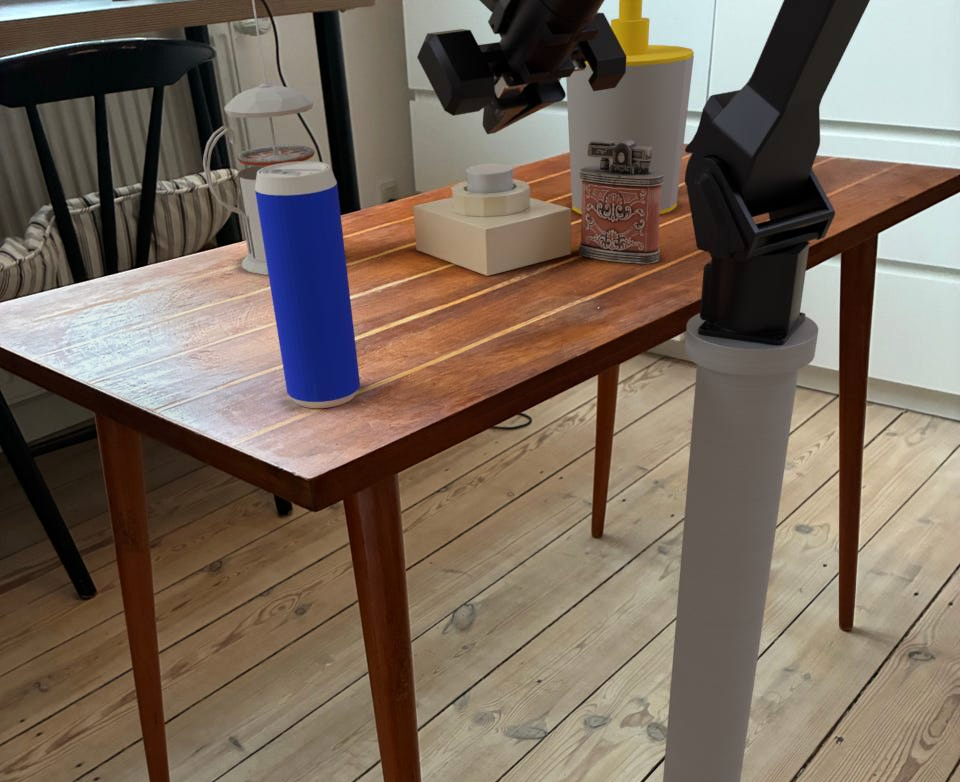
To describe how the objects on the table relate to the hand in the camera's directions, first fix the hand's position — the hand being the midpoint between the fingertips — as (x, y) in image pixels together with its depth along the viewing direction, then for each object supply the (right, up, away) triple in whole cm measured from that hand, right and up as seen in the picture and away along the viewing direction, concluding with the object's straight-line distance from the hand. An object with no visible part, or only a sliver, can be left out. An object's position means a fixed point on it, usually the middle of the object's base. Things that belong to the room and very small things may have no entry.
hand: (488, 129), depth 95 cm
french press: (-20, -10, +7) cm, 23 cm away
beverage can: (-12, -30, -21) cm, 38 cm away
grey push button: (0, -4, +3) cm, 5 cm away
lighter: (+12, -10, +4) cm, 17 cm away
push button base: (0, -9, +6) cm, 11 cm away
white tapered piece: (+15, +1, +19) cm, 24 cm away
